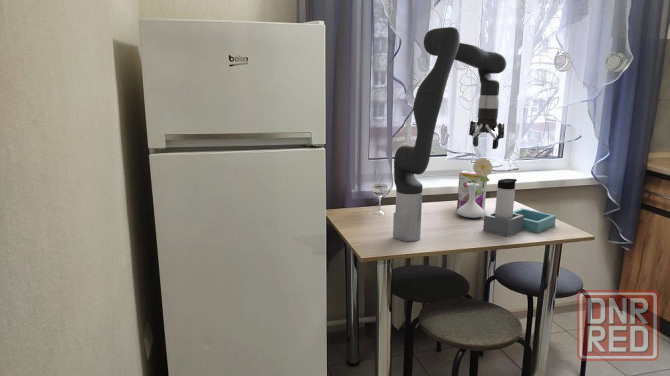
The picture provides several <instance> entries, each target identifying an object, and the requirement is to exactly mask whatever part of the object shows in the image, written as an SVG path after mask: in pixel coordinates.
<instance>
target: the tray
mask: <svg viewBox="0 0 670 376" xmlns="http://www.w3.org/2000/svg"><path fill="white" fill-rule="evenodd" d="M513 213H516V214H520V215H524V222H523V230H524V231H529V232H532V233H536V234H538V233H541V232H542V231H545V230H548V229H551V228H552V227H554V226H556V219H557V215H554V214H550V213H545V212H540V211H536V210H531V209H527V208H519V209H516V210H513Z"/></svg>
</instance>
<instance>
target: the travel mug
mask: <svg viewBox="0 0 670 376" xmlns="http://www.w3.org/2000/svg"><path fill="white" fill-rule="evenodd" d="M516 182H518V180H517V178H502V179H499V180H497V186H496V187H497V188H496V199H495V208H494V210H495V211H494V212H495V217H499V218H503V219H507V220H508V219H511V218H512V217H513V211H514V206H515V205H514V204H515V194H516V193H515V192H516Z"/></svg>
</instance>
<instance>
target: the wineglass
mask: <svg viewBox="0 0 670 376" xmlns="http://www.w3.org/2000/svg"><path fill="white" fill-rule="evenodd" d="M371 186H372V189H371V192H372V194H373V196H375V197H376V198H378V210H376V211H374V212H373V214H375V215H384V213H385V214H386V212H385V211H382V210H381V200H382V198H384V197H385V196H386V195H388V193H389V188H388V184H385V183H374V184H372V185H371Z"/></svg>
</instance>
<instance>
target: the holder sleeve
mask: <svg viewBox="0 0 670 376" xmlns="http://www.w3.org/2000/svg"><path fill="white" fill-rule="evenodd" d="M523 222H524V215H520V214H516V213H513V217H512V218H511V219H508V220H507V219H503V218H499V217H495V211H492V212H489V213H485V215H484V216H483V229H482V230H483V231H484V232H489V233H492V234H495V235H496V234H497V235H498V236H499V235H500V236H504V237H510V236H513V235H515V234H517V233H520V232H522V231H523V230H524V229H523Z"/></svg>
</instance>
